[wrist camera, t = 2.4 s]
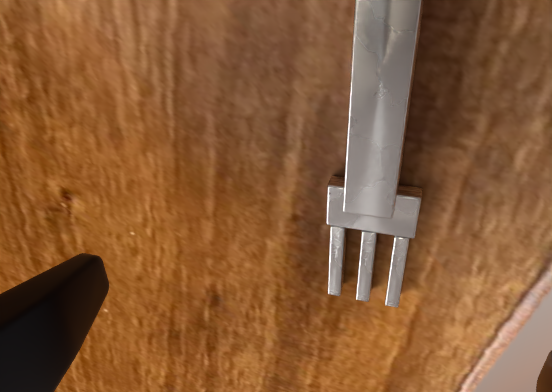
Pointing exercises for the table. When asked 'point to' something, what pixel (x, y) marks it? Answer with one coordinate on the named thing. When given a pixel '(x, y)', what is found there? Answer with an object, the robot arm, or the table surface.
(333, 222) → the fork
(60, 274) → the robot arm
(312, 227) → the table surface
